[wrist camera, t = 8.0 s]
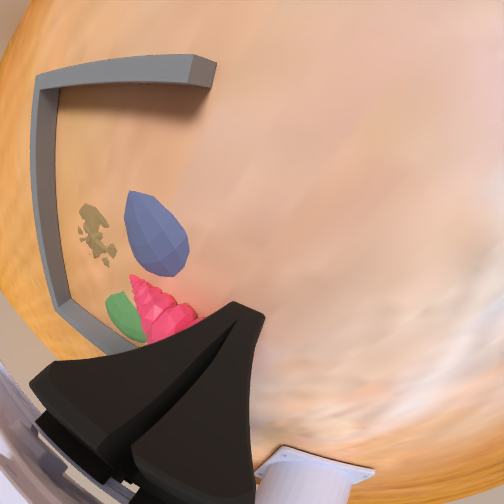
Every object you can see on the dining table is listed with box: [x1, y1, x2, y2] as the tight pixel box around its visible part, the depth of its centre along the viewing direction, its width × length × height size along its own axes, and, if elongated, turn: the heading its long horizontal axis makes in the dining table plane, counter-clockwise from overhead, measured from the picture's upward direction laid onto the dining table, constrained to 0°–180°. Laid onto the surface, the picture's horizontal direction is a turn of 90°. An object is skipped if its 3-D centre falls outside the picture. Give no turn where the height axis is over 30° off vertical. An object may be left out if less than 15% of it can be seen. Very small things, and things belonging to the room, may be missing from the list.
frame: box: [30, 54, 217, 355], centre depth 13 cm, size 18×12×2 cm, turn 167°
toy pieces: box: [78, 191, 207, 345], centre depth 12 cm, size 12×11×4 cm
